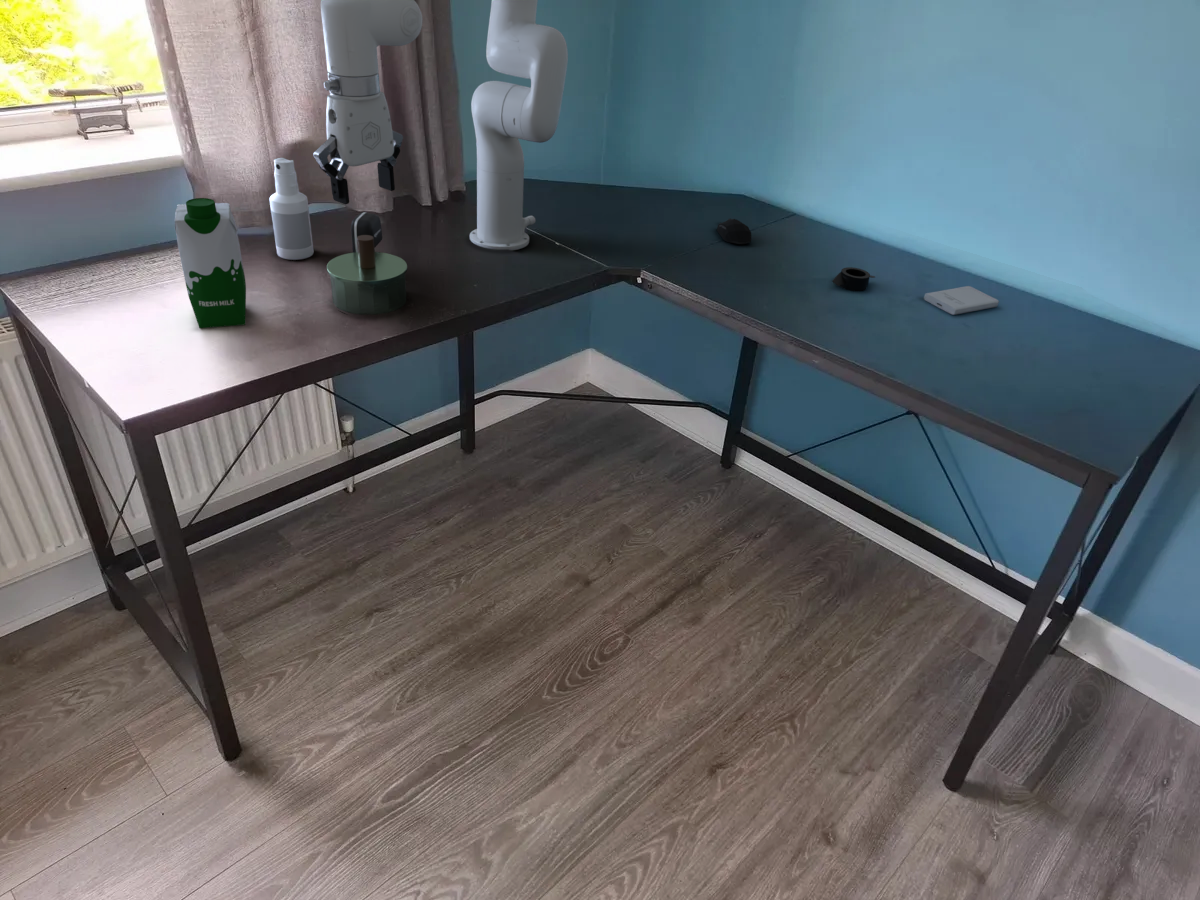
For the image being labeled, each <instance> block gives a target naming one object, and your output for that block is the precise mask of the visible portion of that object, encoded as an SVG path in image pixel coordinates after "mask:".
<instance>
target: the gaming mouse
mask: <svg viewBox="0 0 1200 900" xmlns="http://www.w3.org/2000/svg"><path fill="white" fill-rule="evenodd" d="M716 232H717V233H718V234H719V236H720V237H721V238H722V240H723V241H725V242H727V243H729V244H735V245H746V244H749V243H751V242H752V232H751V230H750V228H749V226H748V225H747V224H745V223H743V222H742V221H740V220H738V219H736V218H728V219H727V220H725V221H722V222H719V223H718V225H717V227H716Z"/></svg>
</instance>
